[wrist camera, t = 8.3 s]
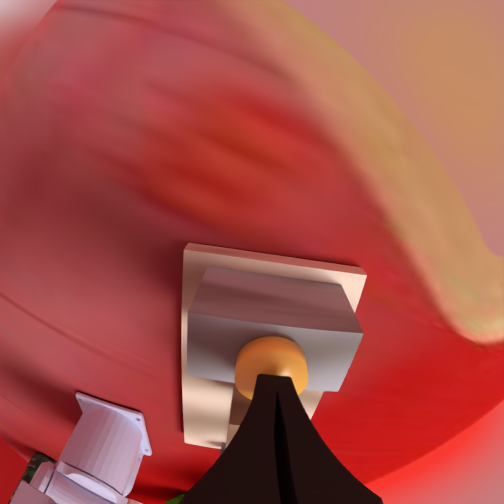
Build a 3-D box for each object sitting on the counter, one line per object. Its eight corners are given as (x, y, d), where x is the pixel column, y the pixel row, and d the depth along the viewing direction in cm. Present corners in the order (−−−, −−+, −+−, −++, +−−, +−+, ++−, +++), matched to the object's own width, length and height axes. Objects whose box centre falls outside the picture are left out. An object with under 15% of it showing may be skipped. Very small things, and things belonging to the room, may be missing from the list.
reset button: (296, 388, 14) (298, 405, 12) (233, 381, 14) (231, 399, 12) (313, 340, 12) (316, 357, 11) (240, 331, 12) (238, 349, 11)
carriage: (271, 407, 20) (271, 462, 15) (231, 402, 20) (224, 457, 15) (287, 353, 18) (291, 415, 13) (239, 347, 18) (231, 409, 13)
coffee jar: (44, 451, 35) (12, 516, 18) (74, 473, 37) (47, 538, 20) (30, 451, 37) (0, 507, 20) (56, 471, 39) (31, 528, 22)
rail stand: (291, 446, 26) (293, 495, 20) (187, 433, 26) (175, 482, 20) (361, 267, 18) (396, 321, 12) (188, 242, 18) (154, 290, 12)
